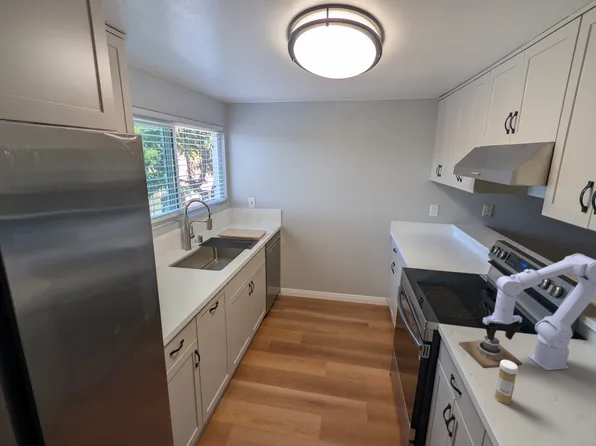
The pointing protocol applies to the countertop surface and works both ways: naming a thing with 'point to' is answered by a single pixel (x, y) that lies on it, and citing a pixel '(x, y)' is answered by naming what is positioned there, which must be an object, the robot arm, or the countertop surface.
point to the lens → (491, 345)
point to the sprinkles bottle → (506, 381)
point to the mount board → (484, 360)
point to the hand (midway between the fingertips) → (499, 338)
